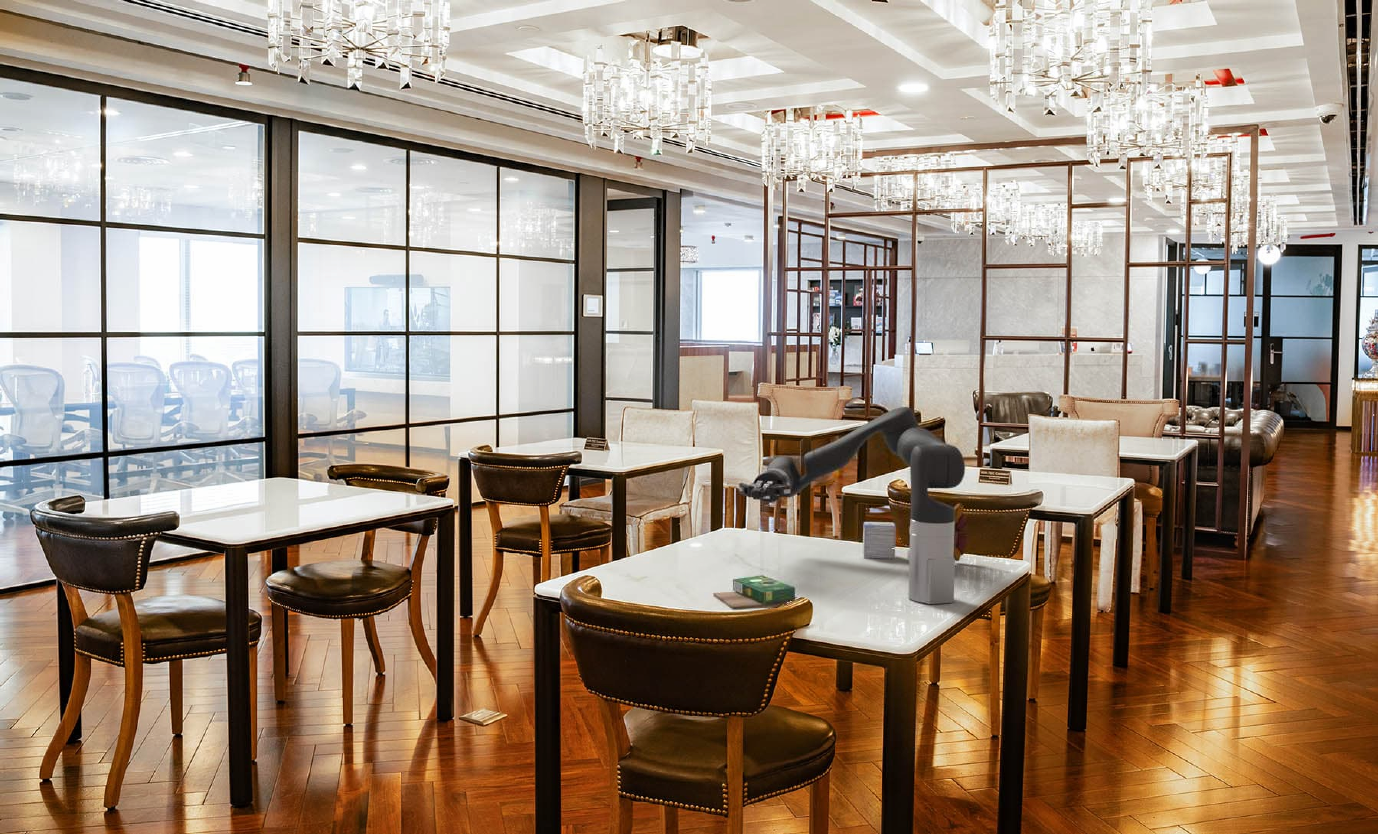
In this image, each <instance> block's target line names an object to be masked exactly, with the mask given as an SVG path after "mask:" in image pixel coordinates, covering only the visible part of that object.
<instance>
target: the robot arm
mask: <svg viewBox="0 0 1378 834" xmlns="http://www.w3.org/2000/svg"><path fill="white" fill-rule="evenodd" d="M879 432H880V433H881V435H882V437H883V439H884V441H885V443H886V446H887V447H888V450H889V451H890V452H891V454H894V455H895V456H897V457H899V458H900V459H901V460H902V461H903V462H904V463H905V464H906V465H907V466H908V467H909V468H910V469H909V472H910V515H911V518H910V525H909V527H910V534H909V550H910V555H909V559H908V562H909V564H908V594H907V595H908V598H909V600H912V601H915V602H918V603H925V604H927V605H936V604H948V603H949V604H951V603H955V576H956V573H955V571H956V561H955V559H954V558H953V552H954V536H955V530H954V522H955V521H954V520H955V511H954V506H951V505H949V504H947V503H943V502H941V501H938V500H936V499H934V498H933V497H932V496H930V495H929V492H928V489H952V488H956V487H957V486H959V485H960V484H961V483H962V481H963V480H964V477H965V473H966V465H965V464H966V463H965V460H964V456H963V454H962V452H961V450H960V449H959V448H958V447H956V446H955V445H952V444H948V443H946V442H945V441H943V440H942V439H940V438H939V437H937V436H936V435H935V434H933V433H932V432H931V431H930V430H928V429H926V428H923V427H920V425H919V422H918V420H917V418H916V415H915V414H914V411H913V410H912V408H910V407H908V406H902V407H901V406H900V407H897V408H894V409H892V410H889V411H887V412H885V413H883V414H881V415H879V416H877V417H876V418H874V419H872V420H870V421H869V422H867V423H864V424H863V425H861V426H860V427H857V428H856V429H855V430H853V431H851V432H849V433H848V434H845V435H844V436H842V437H840V438H838V439H837V440H834V441H833V442H830V443H828V444H826V445H823V446H821V447H818V448H815V449H814V450H811V451H809V452H807V453H805V454H804V456H803V462H804V467H805V468H804V469H805V473H804V475H803V476H801V474H800V472H799V469H798V467H797V465H796V463H795V461H794V459H793V458H792V457H790V456H788V455H781V456H778V457H776V458H774V459H773V460H772V461H771V462H770V463H769V464H767V468H766V470H764V471H763V472H761V473H760V474H758V475H757V476H756V477H755V479H754V480H753V482H752V483H751V482H750V483H749V484H747V483H743V482H740V483H738V495H742V496H745V497H747V498H752V499H753V500H756V501H758V500H759V501H761V502H763V503H768V504H769V503H770V504H771V503H775V502H777V501H779V500H780V499H781V498H792V497H794V496H797V494H798V493H800V492H801V491H803V489H805V488H806V487H807V486H809V485H810V484H812V483H813V482H815V481H816V480H819V479H820V478H822V477H824V476H827V475H829V474H832V473H834V472H837V471H839V470H841V469H842V468H844V467H845V466H847V465H848V464H849V463H850V462H851V461H852V459H853V458H854V457H855V455H856V454H857V452H858V451H859V450H860V448H861V447H863V445H864V444H865V443H866V441H867V440H868V439H870V437H871V436H873V435H875V434H876V433H879Z"/></svg>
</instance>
